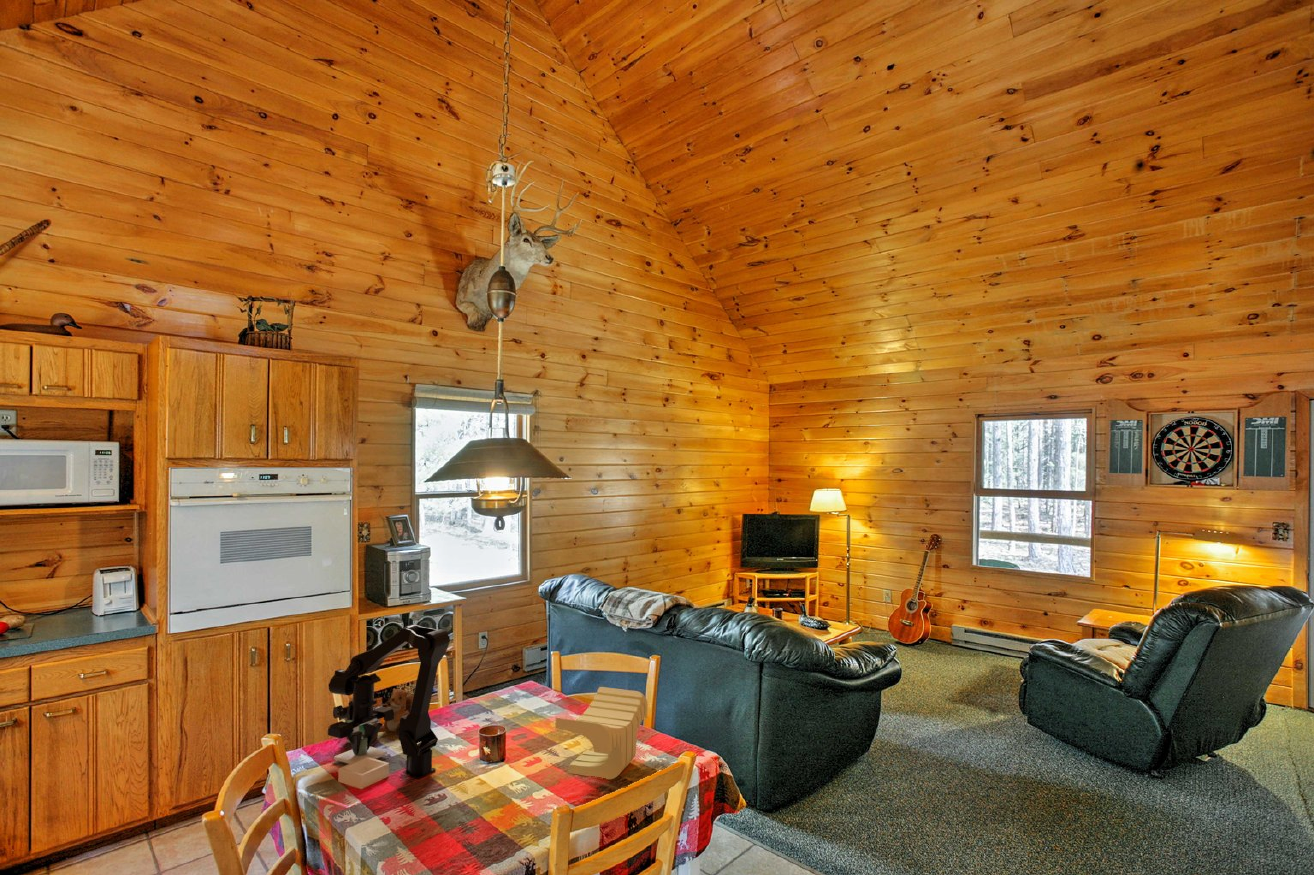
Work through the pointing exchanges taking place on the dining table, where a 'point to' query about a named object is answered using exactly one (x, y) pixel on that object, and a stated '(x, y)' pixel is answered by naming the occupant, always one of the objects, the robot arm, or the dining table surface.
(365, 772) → the dish
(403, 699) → the stuffed squirrel
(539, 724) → the dining table surface
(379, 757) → the mat
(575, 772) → the slatted curved stool
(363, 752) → the lid
